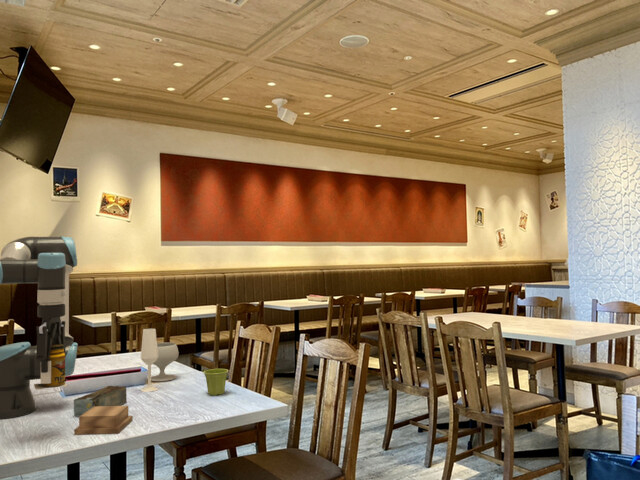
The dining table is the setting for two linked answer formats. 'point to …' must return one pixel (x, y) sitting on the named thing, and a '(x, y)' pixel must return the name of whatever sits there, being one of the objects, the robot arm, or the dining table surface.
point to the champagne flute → (149, 354)
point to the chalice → (165, 360)
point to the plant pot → (216, 381)
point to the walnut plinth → (103, 420)
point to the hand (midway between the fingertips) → (51, 380)
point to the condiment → (56, 368)
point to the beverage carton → (100, 399)
